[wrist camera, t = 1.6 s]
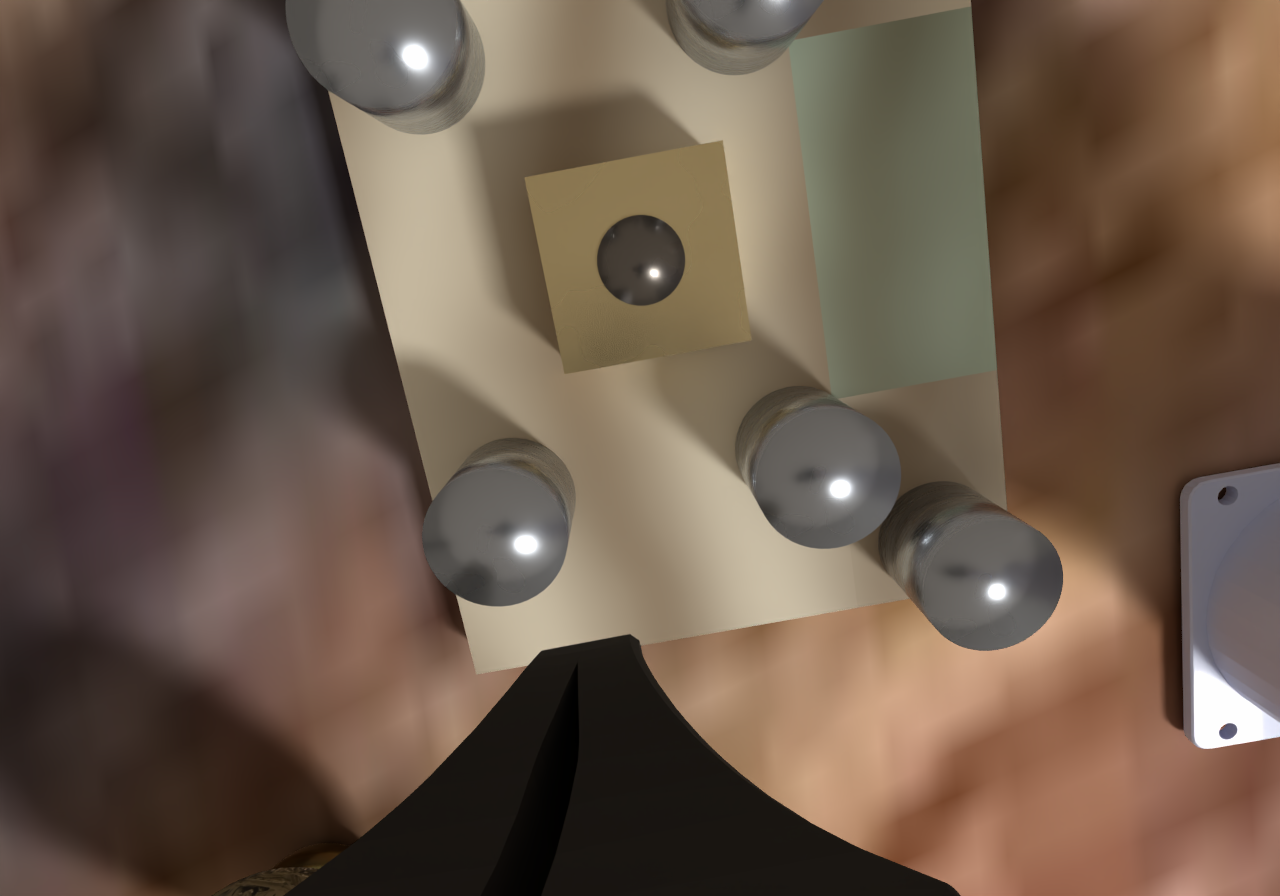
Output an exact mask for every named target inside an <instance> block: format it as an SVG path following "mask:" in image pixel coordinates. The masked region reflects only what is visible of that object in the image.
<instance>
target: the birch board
mask: <svg viewBox="0 0 1280 896" xmlns="http://www.w3.org/2000/svg"><path fill="white" fill-rule="evenodd" d="M461 2H462V3H463V5H464V6H465V8H466V10H467V11H468V13H469V15H470V16H471V18H472V20H473V22H474V23H475V25H476V27H477V29H478V31H479V34H480V36H481V40H482V43H483V47H484V53H485V76H484V81H483V85H482V89H481V91H480V94H479V96H478V98H477V100H476V102H475V104H474V105H473V107H472V108H471V110H470V111H469V112H468V113H467V114H466V115H465V116H464V118H462V119H461V120H460V121H459V122H457V123H456V124H454V125H453V126H451V127H450V128H447V129H445V130H443V131H440V132H436V133H433V134H425V135H417V134H408V133H404V132H400V131H397V130H395V129H392V128H390V127H388V126H386V125H385V124H383V123H381V122H380V121H378V120H376V119H375V118H373V117H371V116H370V115H368V114H366V113H365V112H363V111H361V110H360V109H358V108H356V107H355V106H353V105H351V104H350V103H348V102H346V101H345V100H343V99H341V98H340V97H338V96H336V95H335V94H333V93H332V92H330V91H329V90H328V92H329V96H330V100H331V104H332V108H333V112H334V116H335V119H336V123H337V127H338V131H339V135H340V139H341V143H342V147H343V151H344V155H345V159H346V163H347V167H348V171H349V175H350V179H351V182H352V186H353V190H354V194H355V198H356V202H357V206H358V210H359V214H360V218H361V222H362V226H363V230H364V234H365V238H366V242H367V246H368V249H369V253H370V257H371V261H372V265H373V269H374V273H375V277H376V281H377V285H378V289H379V293H380V297H381V301H382V305H383V309H384V313H385V316H386V320H387V324H388V328H389V332H390V336H391V340H392V344H393V348H394V352H395V356H396V360H397V364H398V368H399V372H400V376H401V380H402V383H403V387H404V391H405V395H406V399H407V403H408V407H409V411H410V415H411V419H412V423H413V427H414V431H415V435H416V439H417V443H418V446H419V450H420V454H421V458H422V462H423V466H424V470H425V474H426V478H427V482H428V486H429V490H430V494H431V498H432V501H433V500H434V498H435V497H436V496H437V495H438V493H439V492H440V491H441V490H442V488H443V487H444V486H445V485H446V483H447V482H448V481H449V480H450V479H451V477H452V476H453V475H454V474H455V472H456V471H457V470H458V469H459V467H460V466H461V465H462V464H463V463H464V461H465V460H466V459H467V458H468V457H469V456H470V455H471V454H472V453H473V452H474V451H475V450H477V449H478V448H479V447H481V446H483V445H485V444H487V443H489V442H492V441H495V440H499V439H505V438H521V439H527V440H531V441H534V442H537V443H539V444H541V445H543V446H545V447H547V448H548V449H550V450H551V451H552V452H554V453H555V454H556V455H557V456H558V457H559V458H560V459H561V460H562V461H563V463H564V464H565V465H566V467H567V468H568V470H569V472H570V474H571V476H572V479H573V482H574V486H575V492H576V505H575V511H574V516H573V521H572V527H571V532H570V537H569V542H568V547H567V552H566V556H565V560H564V563H563V565H562V567H561V570H560V571H559V573H558V575H557V576H556V578H555V579H554V580H553V582H552V583H551V584H550V585H549V586H548V587H547V588H546V589H545V590H544V591H542V592H541V593H539V594H538V595H537V596H535V597H533V598H531V599H529V600H527V601H524V602H522V603H519V604H515V605H511V606H502V607H497V606H485V605H480V604H476V603H473V602H470V601H467V600H465V599H463V598H461V597H459V596H457V595H456V596H457V600H458V604H459V608H460V612H461V616H462V620H463V624H464V628H465V632H466V636H467V640H468V644H469V647H470V651H471V655H472V659H473V663H474V667H475V671H476V674H482V673H487V672H493V671H499V670H504V669H510V668H516V667H522V666H527V665H529V664H530V663H531V662H532V660H533V659H534V658H535V657H536V656H537V655H538V654H539V653H540V652H541V651H542V650H547V649H552V648H558V647H563V646H568V645H574V644H579V643H584V642H590V641H595V640H600V639H606V638H611V637H616V636H622V635H627V634H631V635H632V636H634V637H635V638H637V639H638V640H639V641H640V645H641V646H642V645H647V644H653V643H659V642H664V641H670V640H676V639H682V638H687V637H693V636H699V635H704V634H710V633H716V632H722V631H727V630H733V629H739V628H744V627H750V626H756V625H762V624H767V623H773V622H779V621H784V620H790V619H796V618H801V617H807V616H813V615H819V614H824V613H830V612H836V611H841V610H847V609H853V608H859V607H864V606H870V605H876V604H881V603H887V602H893V601H899V600H904V599H910V598H909V597H908V596H907V595H906V593H905V592H904V591H903V590H902V589H901V588H900V587H899V585H898V584H897V583H896V582H895V581H894V580H893V578H892V577H891V576H890V575H889V574H888V572H887V571H886V569H885V568H884V566H883V564H882V561H881V558H880V555H879V550H878V537H879V531H880V527H881V524H882V523H881V524H880V525H879V527H877V528H876V529H875V530H874V531H873V532H872V533H870V534H869V535H867V536H866V537H864V538H863V539H861V540H859V541H857V542H855V543H852V544H849V545H847V546H843V547H838V548H831V549H817V548H809V547H806V546H802V545H799V544H797V543H794V542H792V541H790V540H789V539H787V538H785V537H784V536H782V535H781V534H780V533H779V532H777V531H776V530H775V529H774V528H773V527H772V526H771V524H770V523H769V522H768V520H767V519H766V517H765V516H764V514H763V512H762V510H761V509H760V507H759V505H758V503H757V502H756V500H755V498H754V496H753V495H752V493H751V491H750V489H749V488H748V486H747V484H746V482H745V481H744V479H743V477H742V475H741V473H740V471H739V468H738V466H737V461H736V455H735V442H736V436H737V432H738V429H739V426H740V424H741V422H742V420H743V418H744V417H745V415H746V414H747V412H748V411H749V410H750V409H751V407H752V406H753V405H754V404H756V403H757V402H758V401H759V400H760V399H762V398H763V397H764V396H766V395H768V394H770V393H772V392H774V391H776V390H779V389H782V388H786V387H792V386H807V387H813V388H817V389H820V390H822V391H825V392H827V393H829V394H830V395H832V396H834V397H835V398H837V399H839V400H840V401H842V402H843V403H845V404H847V405H848V406H850V407H852V408H853V409H855V410H856V411H858V412H860V413H861V414H863V415H865V416H866V417H868V418H870V419H871V420H873V421H874V422H876V423H877V424H878V425H879V426H880V427H881V428H882V429H883V430H884V431H885V432H886V433H887V434H888V436H889V437H890V439H891V440H892V442H893V444H894V446H895V448H896V450H897V453H898V456H899V460H900V466H901V483H900V489H899V493H898V496H897V499H896V501H897V500H898V499H899V498H900V497H901V496H902V495H904V494H905V493H907V492H908V491H909V490H911V489H913V488H915V487H917V486H920V485H923V484H926V483H930V482H937V481H949V482H956V483H959V484H963V485H965V486H967V487H970V488H971V489H973V490H975V491H976V492H978V493H979V494H981V495H982V496H984V497H986V498H987V499H989V500H990V501H992V502H994V503H995V504H997V505H998V506H1000V507H1001V508H1003V509H1005V510H1006V511H1007V502H1006V488H1005V474H1004V460H1003V446H1002V432H1001V418H1000V404H999V390H998V376H997V362H996V347H995V333H994V319H993V305H992V291H991V277H990V263H989V249H988V235H987V221H986V207H985V193H984V179H983V165H982V151H981V137H980V123H979V109H978V95H977V81H976V67H975V53H974V39H973V24H972V10H971V0H824V1H823V2H822V3H821V5H820V6H819V7H818V9H817V10H816V11H815V13H814V14H813V15H812V17H811V18H810V19H809V21H808V22H807V23H806V25H805V26H804V27H803V29H802V30H801V31H800V33H799V34H798V35H797V37H796V38H795V39H794V41H793V42H792V43H791V44H790V46H789V47H788V48H787V50H786V51H785V52H784V53H783V54H782V55H781V56H780V57H779V58H778V59H777V60H775V61H774V62H773V63H772V64H770V65H768V66H767V67H765V68H763V69H761V70H758V71H756V72H753V73H749V74H745V75H724V74H719V73H715V72H712V71H710V70H708V69H706V68H704V67H702V66H700V65H699V64H697V63H696V62H694V61H693V60H692V59H691V58H690V57H689V56H688V55H687V54H686V53H685V52H684V51H683V50H682V48H681V47H680V45H679V44H678V42H677V41H676V39H675V37H674V35H673V33H672V30H671V27H670V25H669V21H668V17H667V11H666V0H461ZM721 140H723V145H724V152H725V159H726V166H727V172H728V179H729V186H730V193H731V200H732V207H733V214H734V221H735V228H736V235H737V242H738V248H739V255H740V262H741V269H742V276H743V283H744V290H745V297H746V304H747V311H748V318H749V324H750V331H751V338H752V340H750V341H745V342H739V343H734V344H728V345H723V346H717V347H712V348H706V349H701V350H695V351H690V352H684V353H679V354H674V355H668V356H663V357H657V358H652V359H646V360H641V361H635V362H630V363H624V364H619V365H613V366H608V367H602V368H597V369H591V370H586V371H580V372H575V373H569V374H564V370H563V365H562V360H561V355H560V350H559V345H558V340H557V335H556V330H555V325H554V320H553V315H552V311H551V306H550V301H549V296H548V291H547V286H546V281H545V276H544V271H543V266H542V261H541V257H540V252H539V247H538V242H537V237H536V232H535V227H534V222H533V217H532V212H531V207H530V202H529V198H528V193H527V188H526V183H525V178H524V177H529V176H534V175H539V174H545V173H550V172H555V171H561V170H566V169H571V168H577V167H582V166H587V165H593V164H598V163H603V162H609V161H614V160H619V159H625V158H630V157H635V156H641V155H646V154H652V153H657V152H662V151H668V150H673V149H678V148H684V147H689V146H694V145H700V144H705V143H710V142H716V141H721ZM896 501H895V502H896Z"/></svg>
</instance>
